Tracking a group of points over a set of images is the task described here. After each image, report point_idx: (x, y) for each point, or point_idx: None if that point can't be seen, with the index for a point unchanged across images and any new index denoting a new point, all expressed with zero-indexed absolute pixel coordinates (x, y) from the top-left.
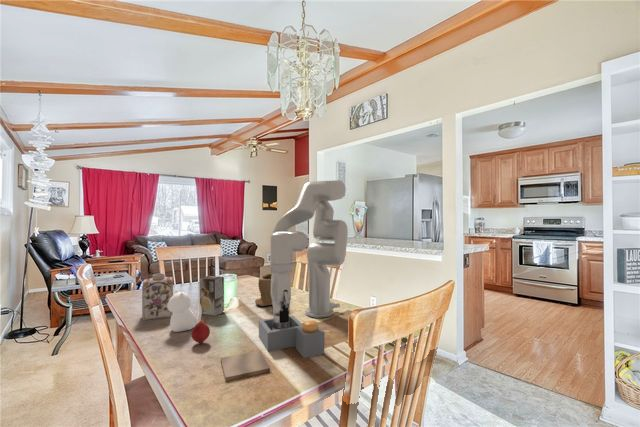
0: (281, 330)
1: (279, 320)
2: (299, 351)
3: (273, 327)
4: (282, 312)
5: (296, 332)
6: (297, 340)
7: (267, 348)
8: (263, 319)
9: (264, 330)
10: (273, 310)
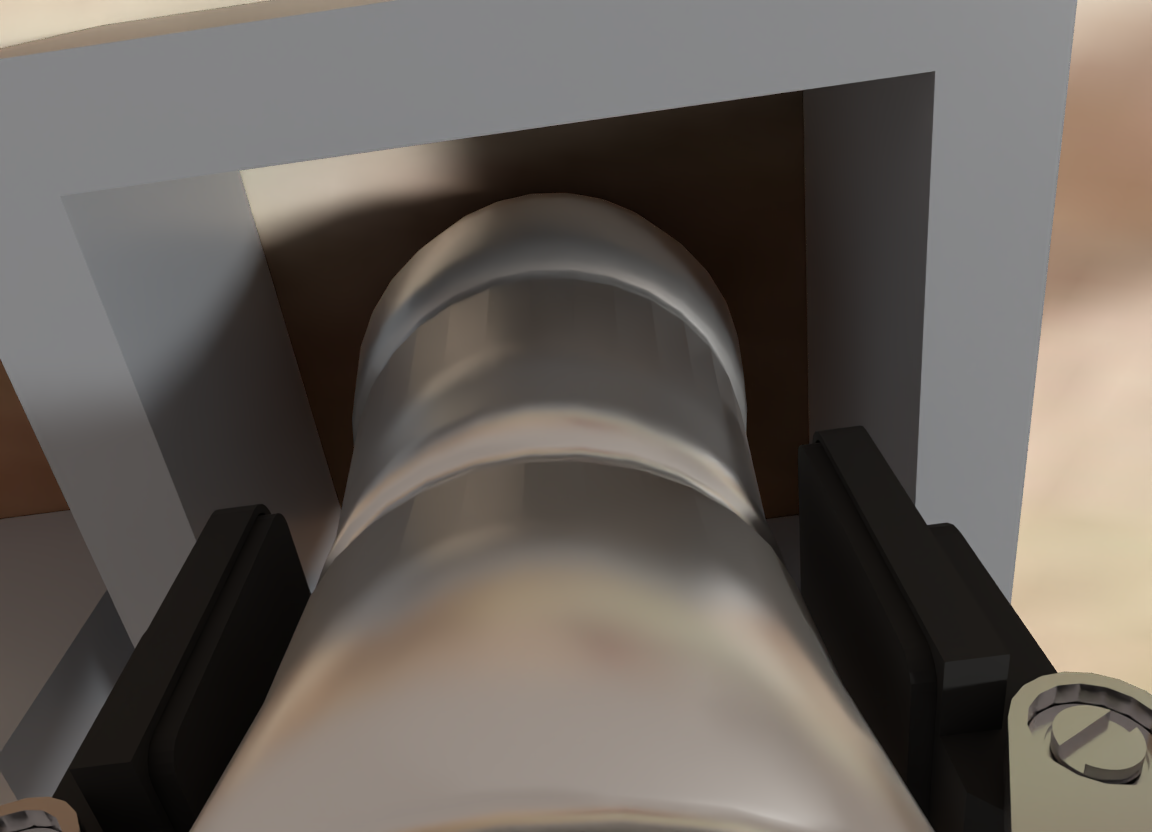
0: (44, 446)
1: (247, 529)
2: (12, 528)
3: (523, 283)
4: (76, 806)
5: (22, 688)
6: (32, 604)
7: (99, 27)
8: (1058, 68)
9: (290, 12)
10: (502, 542)
